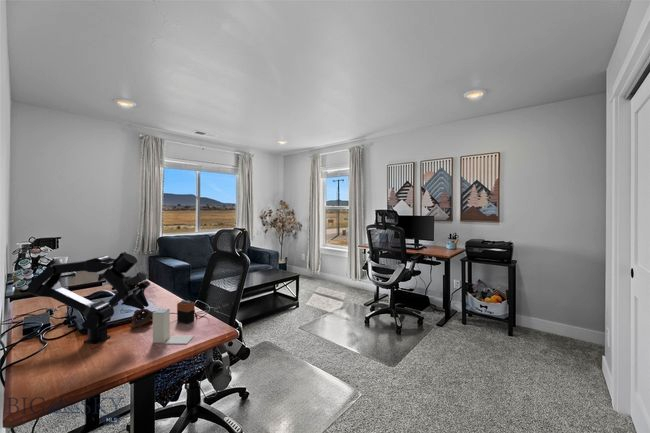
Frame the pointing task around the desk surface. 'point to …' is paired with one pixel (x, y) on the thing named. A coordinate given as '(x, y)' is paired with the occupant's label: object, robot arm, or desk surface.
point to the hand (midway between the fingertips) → (145, 307)
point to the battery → (185, 311)
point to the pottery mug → (139, 315)
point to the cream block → (161, 325)
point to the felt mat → (179, 339)
